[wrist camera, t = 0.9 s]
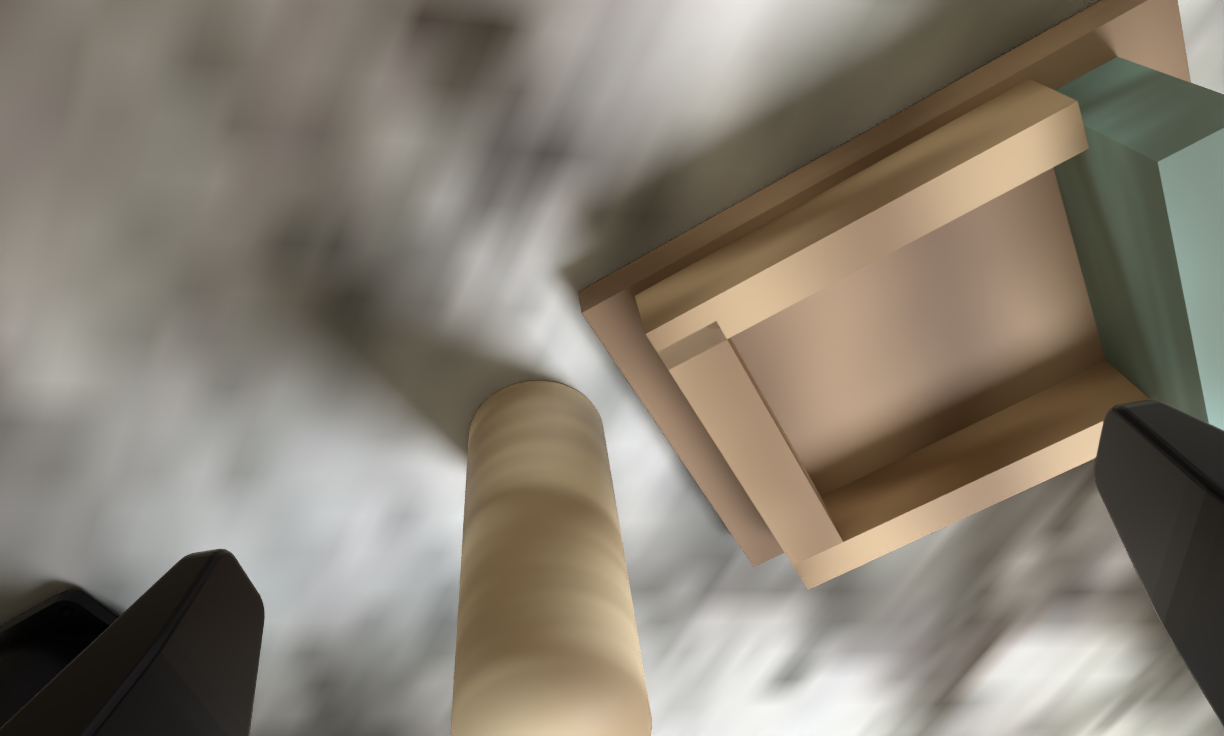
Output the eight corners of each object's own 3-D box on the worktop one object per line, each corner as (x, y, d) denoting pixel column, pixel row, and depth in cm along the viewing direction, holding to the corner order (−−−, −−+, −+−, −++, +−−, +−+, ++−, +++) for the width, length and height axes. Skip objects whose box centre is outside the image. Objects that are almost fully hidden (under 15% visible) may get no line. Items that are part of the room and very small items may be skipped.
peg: (516, 508, 27) (521, 817, 18) (441, 421, 25) (408, 724, 16) (627, 451, 26) (685, 746, 18) (559, 357, 24) (589, 638, 16)
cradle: (744, 541, 29) (793, 683, 24) (578, 291, 23) (597, 412, 18) (1204, 321, 26) (1365, 432, 21) (1141, -23, 20) (1339, 21, 15)
